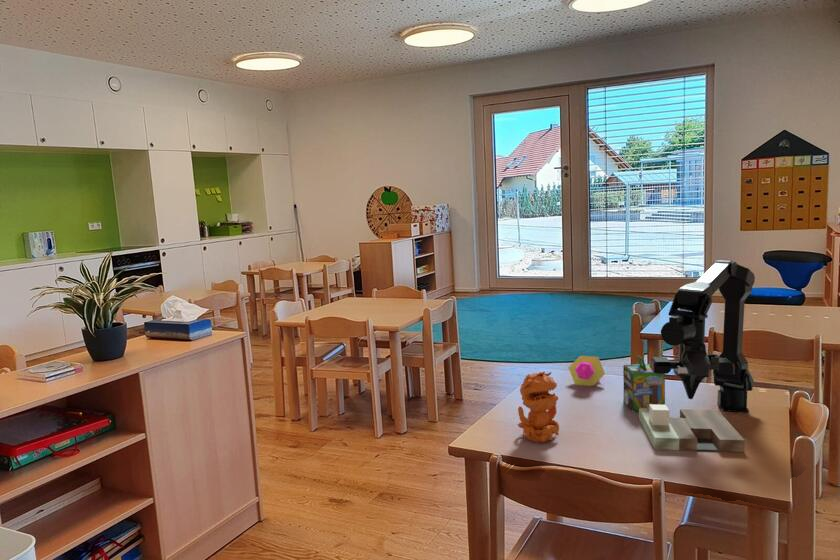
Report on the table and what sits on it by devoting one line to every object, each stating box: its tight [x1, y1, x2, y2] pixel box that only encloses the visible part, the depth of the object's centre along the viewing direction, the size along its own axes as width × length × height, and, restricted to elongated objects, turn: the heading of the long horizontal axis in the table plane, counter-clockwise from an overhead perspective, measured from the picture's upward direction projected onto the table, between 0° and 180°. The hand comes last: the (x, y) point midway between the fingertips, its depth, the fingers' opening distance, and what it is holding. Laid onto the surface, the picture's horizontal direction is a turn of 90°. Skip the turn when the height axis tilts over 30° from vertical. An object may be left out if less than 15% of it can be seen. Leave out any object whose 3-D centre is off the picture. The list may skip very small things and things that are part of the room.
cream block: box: [649, 404, 670, 425], centre depth 153 cm, size 4×4×4 cm
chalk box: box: [622, 354, 666, 413], centre depth 173 cm, size 9×9×15 cm
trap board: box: [638, 408, 746, 453], centre depth 153 cm, size 20×20×3 cm
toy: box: [568, 355, 606, 387], centre depth 195 cm, size 10×18×10 cm, turn 158°
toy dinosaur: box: [517, 371, 560, 443], centre depth 153 cm, size 11×11×18 cm
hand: (690, 398), depth 151 cm, fingers closed
